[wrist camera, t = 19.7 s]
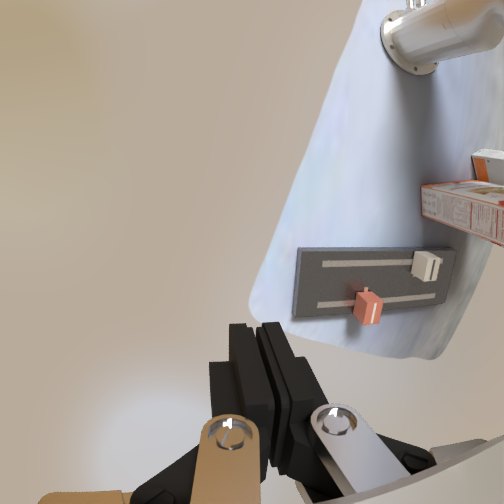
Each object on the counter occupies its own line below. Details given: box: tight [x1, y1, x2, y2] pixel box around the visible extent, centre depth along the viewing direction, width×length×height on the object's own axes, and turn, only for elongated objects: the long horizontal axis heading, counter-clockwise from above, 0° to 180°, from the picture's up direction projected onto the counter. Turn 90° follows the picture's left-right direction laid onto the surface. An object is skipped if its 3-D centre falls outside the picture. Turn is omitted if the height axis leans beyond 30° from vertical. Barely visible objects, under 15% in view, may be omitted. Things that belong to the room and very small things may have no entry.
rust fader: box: [353, 291, 384, 325], centre depth 50 cm, size 4×3×4 cm
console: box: [292, 247, 456, 317], centre depth 53 cm, size 11×32×2 cm, turn 88°
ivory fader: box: [411, 251, 441, 281], centre depth 50 cm, size 4×3×4 cm
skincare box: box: [472, 149, 504, 186], centre depth 45 cm, size 6×4×12 cm
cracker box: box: [421, 180, 504, 247], centre depth 42 cm, size 14×6×21 cm, turn 99°
